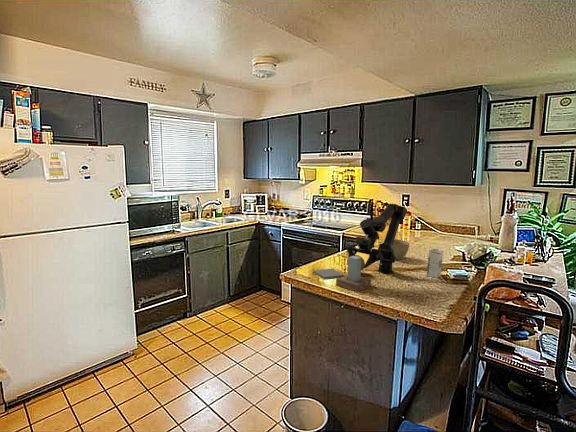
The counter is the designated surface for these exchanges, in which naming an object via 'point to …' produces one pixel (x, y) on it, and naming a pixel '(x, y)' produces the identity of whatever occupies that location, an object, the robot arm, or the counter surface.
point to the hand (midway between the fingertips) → (356, 265)
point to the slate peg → (354, 268)
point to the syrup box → (434, 263)
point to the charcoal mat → (328, 273)
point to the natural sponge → (361, 262)
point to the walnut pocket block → (353, 283)
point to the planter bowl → (400, 248)
